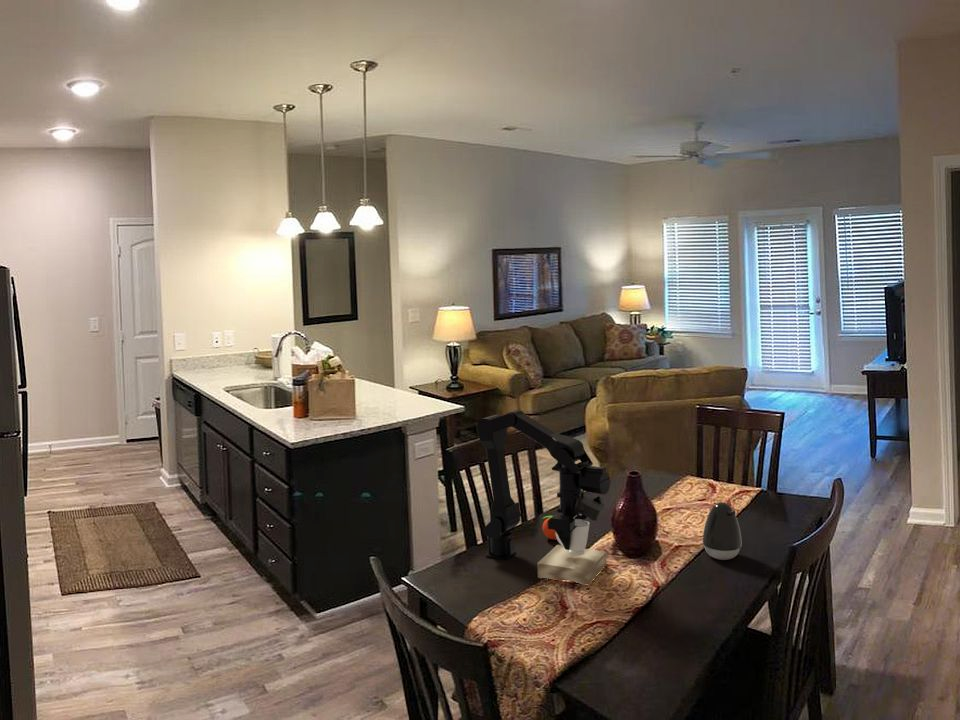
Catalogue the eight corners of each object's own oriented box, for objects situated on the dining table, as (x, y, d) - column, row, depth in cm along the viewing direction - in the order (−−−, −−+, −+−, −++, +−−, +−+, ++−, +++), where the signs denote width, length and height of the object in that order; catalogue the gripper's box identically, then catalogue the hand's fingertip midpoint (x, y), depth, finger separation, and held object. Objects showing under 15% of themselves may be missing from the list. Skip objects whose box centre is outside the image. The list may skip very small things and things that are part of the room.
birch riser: (537, 577, 207) (537, 563, 206) (557, 558, 219) (557, 544, 219) (588, 586, 201) (588, 571, 200) (606, 566, 213) (606, 551, 212)
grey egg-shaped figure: (717, 566, 210) (718, 510, 208) (695, 552, 220) (695, 499, 218) (750, 560, 213) (750, 505, 211) (726, 547, 223) (726, 495, 221)
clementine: (536, 541, 233) (535, 518, 232) (543, 533, 240) (542, 510, 239) (562, 544, 230) (561, 520, 229) (569, 536, 236) (568, 513, 235)
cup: (580, 559, 204) (580, 528, 203) (548, 551, 210) (548, 521, 209) (595, 551, 209) (595, 521, 208) (563, 543, 215) (563, 514, 214)
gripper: (588, 502, 195) (589, 562, 197) (611, 481, 212) (612, 537, 214) (545, 497, 200) (547, 556, 202) (571, 477, 217) (572, 532, 219)
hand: (571, 545), depth 209 cm, fingers closed on cup, 6 cm apart
